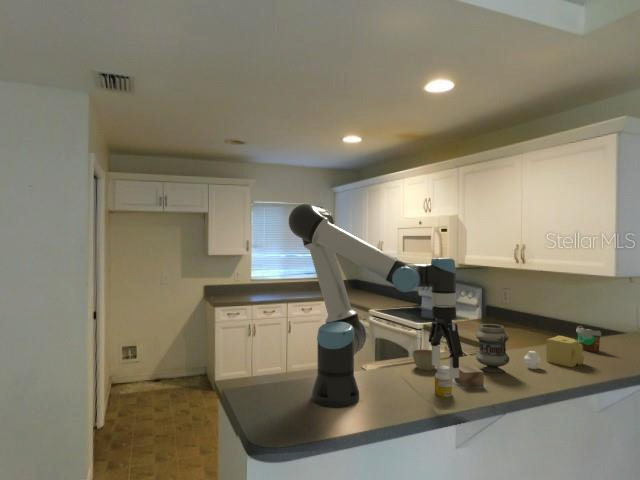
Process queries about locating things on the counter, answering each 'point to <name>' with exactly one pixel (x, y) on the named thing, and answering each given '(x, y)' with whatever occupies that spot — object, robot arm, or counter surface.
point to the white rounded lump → (532, 360)
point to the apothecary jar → (492, 347)
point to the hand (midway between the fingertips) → (444, 371)
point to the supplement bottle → (443, 381)
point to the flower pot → (423, 359)
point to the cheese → (564, 351)
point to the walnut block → (470, 376)
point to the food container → (588, 339)
